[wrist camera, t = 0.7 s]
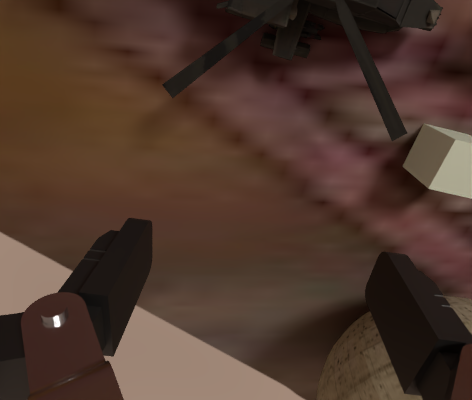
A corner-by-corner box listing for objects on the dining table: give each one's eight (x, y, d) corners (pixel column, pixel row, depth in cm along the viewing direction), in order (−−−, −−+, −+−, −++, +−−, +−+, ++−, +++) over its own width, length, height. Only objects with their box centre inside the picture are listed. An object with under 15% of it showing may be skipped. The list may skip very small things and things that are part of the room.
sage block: (423, 123, 34) (455, 139, 29) (467, 134, 34) (506, 151, 29) (402, 166, 36) (428, 188, 31) (443, 175, 37) (476, 199, 31)
